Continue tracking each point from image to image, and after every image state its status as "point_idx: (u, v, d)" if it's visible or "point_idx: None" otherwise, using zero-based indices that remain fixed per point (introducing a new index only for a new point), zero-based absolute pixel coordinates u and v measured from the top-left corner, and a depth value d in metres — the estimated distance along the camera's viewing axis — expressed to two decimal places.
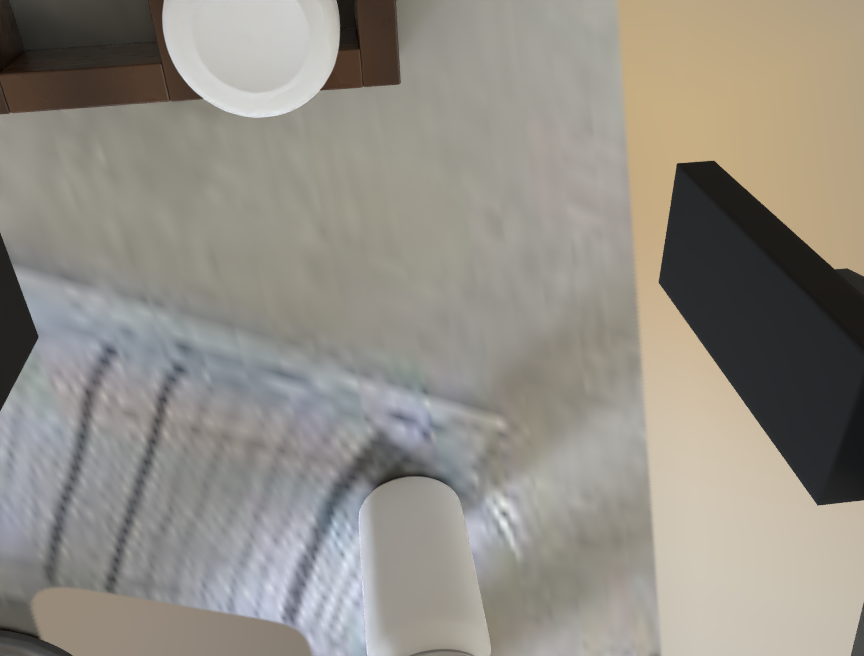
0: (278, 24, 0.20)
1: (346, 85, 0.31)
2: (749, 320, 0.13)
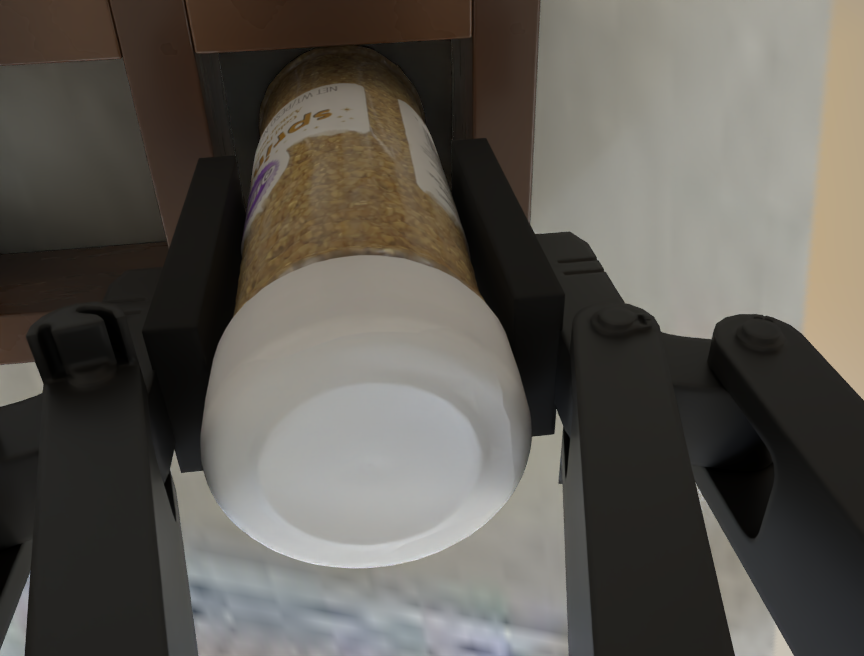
0: (423, 449, 0.11)
1: None
2: (481, 278, 0.14)
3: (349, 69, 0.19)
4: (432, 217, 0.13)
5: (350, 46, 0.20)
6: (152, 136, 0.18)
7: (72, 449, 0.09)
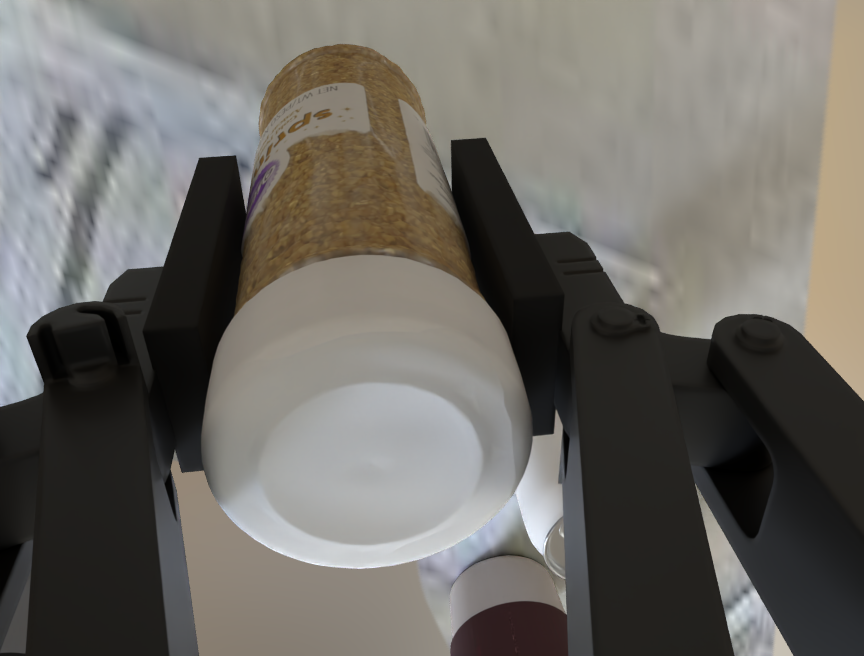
0: (424, 449, 0.10)
1: None
2: (479, 278, 0.14)
3: (349, 69, 0.19)
4: (432, 217, 0.13)
5: (350, 46, 0.20)
6: None
7: (73, 449, 0.09)
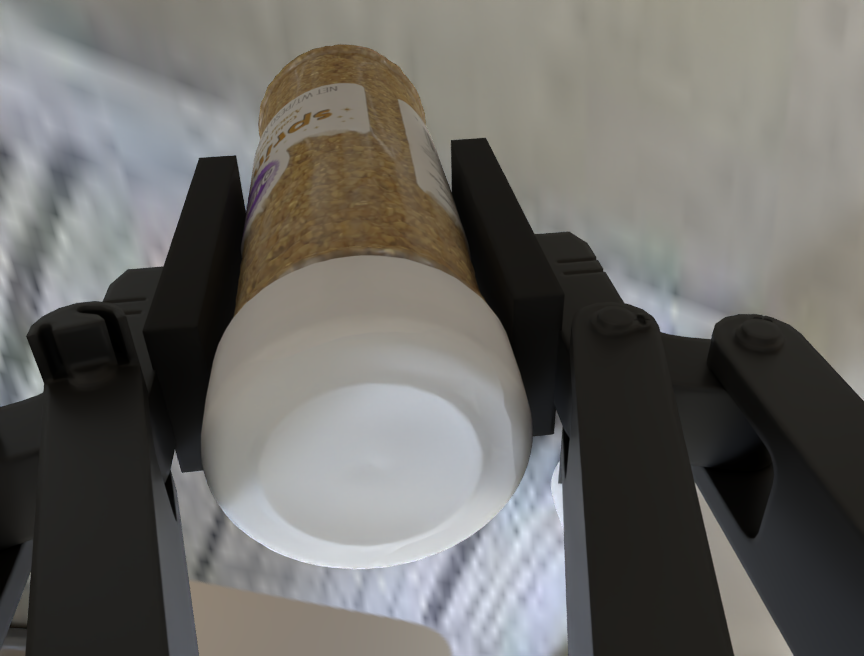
0: (424, 449, 0.10)
1: None
2: (479, 278, 0.14)
3: (349, 69, 0.19)
4: (432, 217, 0.13)
5: (350, 46, 0.20)
6: None
7: (73, 449, 0.09)
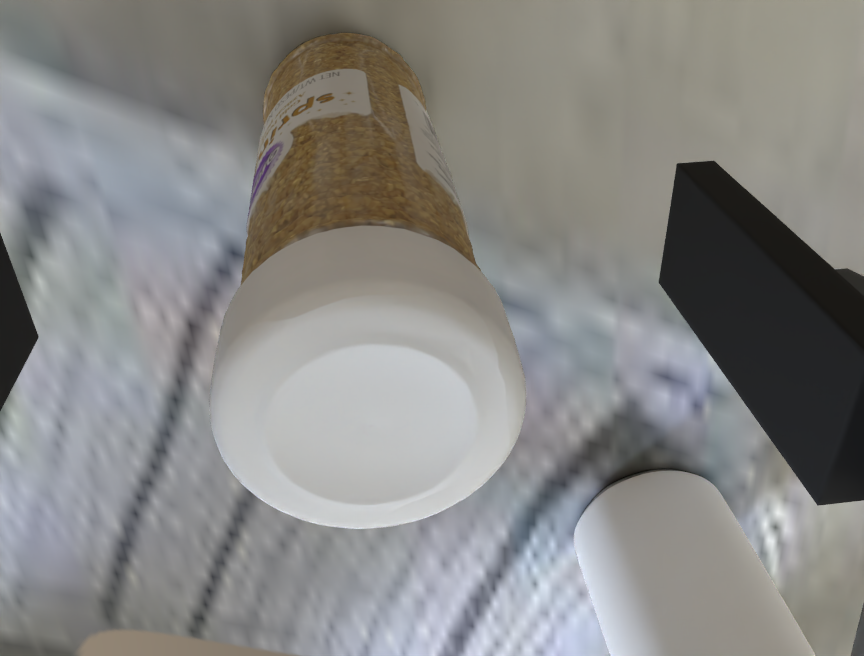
0: (422, 410, 0.11)
1: None
2: (749, 320, 0.13)
3: (351, 56, 0.19)
4: (431, 193, 0.14)
5: (352, 34, 0.20)
6: None
7: None
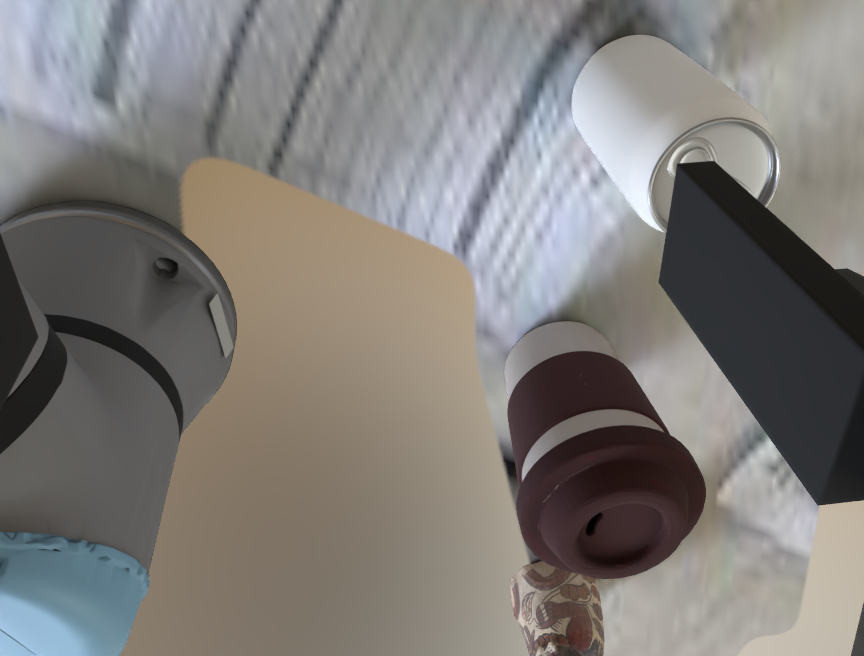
0: None
1: None
2: (749, 320, 0.13)
3: None
4: None
5: None
6: None
7: None
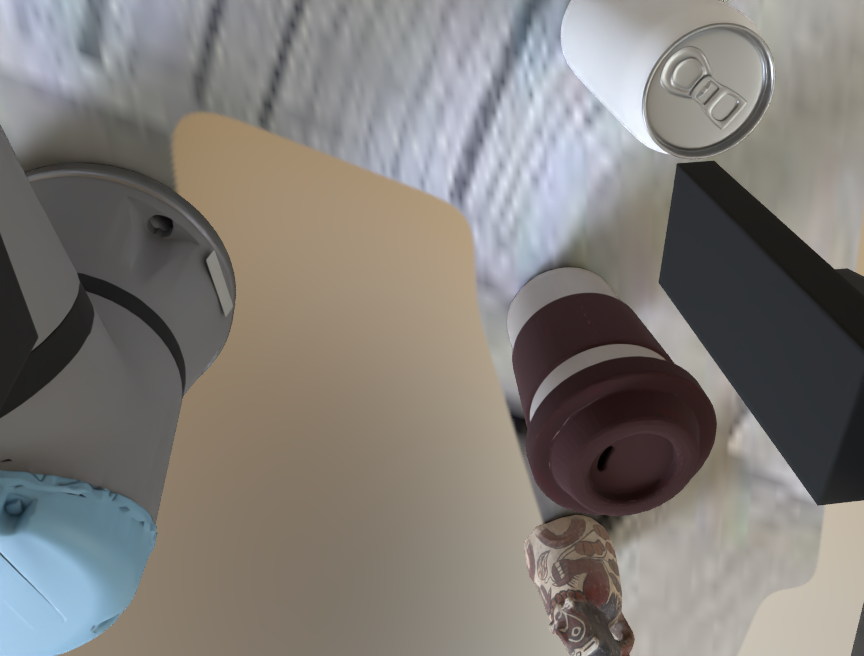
0: None
1: None
2: (749, 320, 0.13)
3: None
4: None
5: None
6: None
7: None
